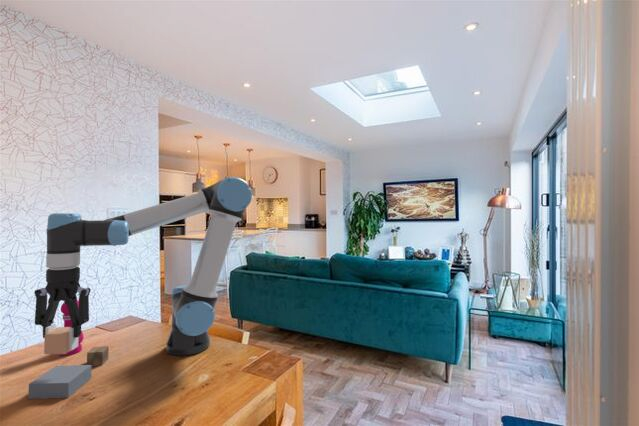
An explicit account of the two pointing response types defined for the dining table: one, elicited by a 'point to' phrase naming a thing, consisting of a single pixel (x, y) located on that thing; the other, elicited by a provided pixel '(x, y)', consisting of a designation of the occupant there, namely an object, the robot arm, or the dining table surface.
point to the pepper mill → (68, 324)
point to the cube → (57, 341)
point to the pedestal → (60, 382)
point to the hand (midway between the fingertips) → (61, 348)
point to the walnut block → (97, 356)
